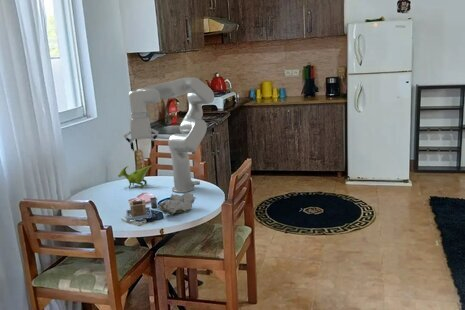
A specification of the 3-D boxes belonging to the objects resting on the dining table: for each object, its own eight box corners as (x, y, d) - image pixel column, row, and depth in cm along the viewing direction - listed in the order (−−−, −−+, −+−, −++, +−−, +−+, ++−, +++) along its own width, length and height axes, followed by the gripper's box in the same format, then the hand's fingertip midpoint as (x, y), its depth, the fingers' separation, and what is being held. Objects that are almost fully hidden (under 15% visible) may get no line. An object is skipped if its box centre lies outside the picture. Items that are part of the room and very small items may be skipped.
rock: (173, 227, 215) (169, 212, 209) (158, 217, 221) (154, 202, 215) (201, 203, 226) (198, 189, 219) (186, 195, 231) (183, 180, 225)
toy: (133, 191, 275) (118, 171, 273) (161, 173, 270) (146, 152, 268) (128, 196, 267) (113, 175, 265) (157, 177, 262) (142, 156, 260)
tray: (150, 210, 225) (150, 206, 225) (152, 218, 214) (151, 214, 214) (126, 214, 223) (125, 210, 222) (126, 222, 212) (126, 218, 211)
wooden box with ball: (131, 213, 221) (129, 201, 220) (146, 211, 222) (144, 199, 221) (131, 219, 213) (130, 207, 212) (147, 217, 214) (145, 205, 213)
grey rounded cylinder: (156, 206, 231) (155, 196, 230) (157, 207, 229) (156, 198, 228) (151, 206, 231) (149, 197, 230) (151, 208, 228) (150, 198, 227)
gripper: (156, 113, 233) (159, 146, 237) (121, 116, 229) (125, 150, 233) (157, 115, 226) (160, 148, 230) (121, 118, 222) (125, 152, 226)
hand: (143, 149), depth 231 cm, fingers open, 9 cm apart
